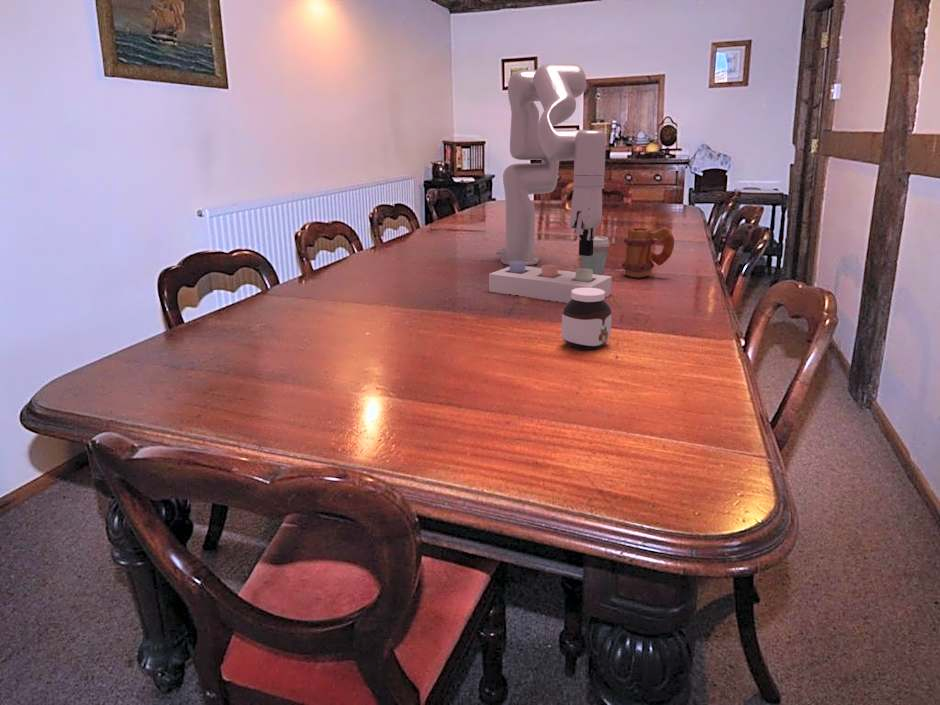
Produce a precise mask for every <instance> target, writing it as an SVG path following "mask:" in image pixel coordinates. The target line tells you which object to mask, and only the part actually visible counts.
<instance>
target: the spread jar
mask: <svg viewBox="0 0 940 705" xmlns="http://www.w3.org/2000/svg"><path fill="white" fill-rule="evenodd" d="M612 316H613V314H612V308H611V306H610V305H609V303H608V302H607V301H606V300H605V291H604V290H601V289H597V288H576V289H573V290H572V291H571V300H570V301H569V302H568V303H565V306H564V308H563V310H562V315H561V328H560V329H561V330H560V331H561V338H562V340H563V341H564V343H566V345H567V346H569V347H571V349H575V350H577V351H595V350H599V349H602V347H604V346H605V345H606V344H607V343H608V341H609V339H610V336H611V333H612V319H613V317H612Z"/></svg>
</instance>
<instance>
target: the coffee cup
mask: <svg viewBox="0 0 940 705" xmlns="http://www.w3.org/2000/svg"><path fill="white" fill-rule="evenodd" d="M593 240H594V241H593V255H591V256H581V263H582V264H581V265H582V266H581V268H587V269H592V270H593V274H596V275H604V273H605V268H606V262H607V256H608V249H609V246H610V241H609V238H608V237H607V236H603V235H602V236H601V235H594V239H593Z"/></svg>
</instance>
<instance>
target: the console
mask: <svg viewBox="0 0 940 705" xmlns="http://www.w3.org/2000/svg"><path fill="white" fill-rule="evenodd" d="M541 276H542V267H535V266H530V265H525V273H523V274H517V273H510V265H508V266H507V267H503V268H501V269H499V270H496V271H493V272H490V273H488V292H489V293H495V294H502V295H509V294H511V295H510V296H515V295H519V296H518V297H522V296H525V297H524V298H529V297H530V298H529V299H537V300H543V301H549V300H550V302H556V301H558V302H557V303H563V302H564V303H565V304H567V303H568V302H569V301H570V300H571V291H572V290H573V289H576V288H597V289H601V290H604V291H605V297H606V298H607V297H609V296H611V295H612V280H613V279H612V278H613V276H610V275H604V274H603V275H596V274H593V276H592V282H590V283H588V282H580V281H575V277H576V271H569V270H559V269H558V277H556V278H548V277H541ZM610 294H611V295H610Z"/></svg>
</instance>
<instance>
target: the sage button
mask: <svg viewBox="0 0 940 705" xmlns="http://www.w3.org/2000/svg"><path fill="white" fill-rule="evenodd" d="M575 272H576V277H575V281H580V282H588V283H590V282H592V276H593V270H592V269H587V268H582V267H581V268H576V269H575Z"/></svg>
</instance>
